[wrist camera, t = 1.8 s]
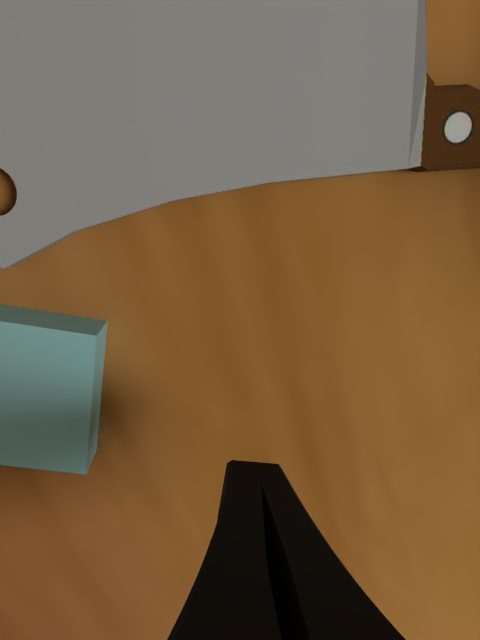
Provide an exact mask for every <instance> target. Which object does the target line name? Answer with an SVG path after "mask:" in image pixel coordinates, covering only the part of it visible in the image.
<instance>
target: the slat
mask: <svg viewBox="0 0 480 640" xmlns="http://www.w3.org/2000/svg"><path fill="white" fill-rule="evenodd" d="M106 332H107V321H104V320H98V319H91V318H85V317H78V316H72V315H65V314H59V313H53V312H46V311H40V310H33V309H27V308H20V307H14V306H7V305H1V304H0V465H4V466H13V467H22V468H31V469H40V470H50V471H59V472H68V473H77V474H87V472H88V469H89V467H90V465H91V462H92V460H93V458H94V455H95V453H96V451H97V440H98V428H99V416H100V404H101V392H102V380H103V368H104V356H105V344H106Z"/></svg>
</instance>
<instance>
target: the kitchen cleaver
mask: <svg viewBox="0 0 480 640" xmlns="http://www.w3.org/2000/svg"><path fill="white" fill-rule="evenodd" d="M0 168H1V169H3V170H4V171H5V172H6V173H8V174H9V175H10V177H11V178H12V180H13V181H14V183H15V186H16V189H17V200H16V203H15V206H14V207H13V208H12V210H11V211H10V212H8V213H7V214H5V215H0V267H1V268H3V269H5V268H8V267H11V266H14V265H17V264H19V263H21V262H22V261H24V260H26V259H28V258H30V257H32V256H34V255H35V254H37V253H39V252H41V251H43V250H45V249H47V248H48V247H50V246H52V245H54V244H56V243H58V242H60V241H62V240H63V239H65V238H67V237H69V236H71V235H73V234H75V233H76V232H78V231H80V230H83V229H86V228H89V227H92V226H96V225H99V224H102V223H105V222H108V221H112V220H115V219H118V218H121V217H124V216H127V215H131V214H134V213H137V212H140V211H143V210H147V209H150V208H153V207H156V206H159V205H162V204H166V203H169V202H172V201H175V200H181V199H186V198H192V197H197V196H202V195H208V194H213V193H218V192H224V191H229V190H235V189H240V188H245V187H251V186H256V185H261V184H267V183H277V182H287V181H296V180H306V179H316V178H326V177H336V176H346V175H356V174H366V173H375V172H385V171H395V170H402V169H408V168H410V169H412V170H414V171H416V172H424V171H438V170H453V169H468V168H480V90H479V89H476V88H474V87H472V86H470V85H468V84H462V85H446V86H434V82H433V80H432V79H431V78H430V77H429V75H428V74H427V52H426V0H0Z"/></svg>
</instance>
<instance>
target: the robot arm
mask: <svg viewBox="0 0 480 640" xmlns="http://www.w3.org/2000/svg"><path fill="white" fill-rule="evenodd" d="M167 640H405V638H404V637H403V636H402V635H401V634H400V633H399V632H398V631H397V630H396V629H395V628H394V626H393V625H392V624H391V623H390V622H389V621H388V620H387V619H386V617H385V616H384V615H383V614H382V613H381V612H380V610H379V609H378V608H377V607H376V606H375V604H374V603H373V602H372V601H371V600H370V598H369V597H368V596H367V595H366V594H365V592H364V591H363V590H362V589H361V587H360V586H359V585H358V584H357V582H356V581H355V580H354V578H353V577H352V576H351V574H350V573H349V572H348V571H347V569H346V568H345V566H344V565H343V564H342V562H341V561H340V560H339V558H338V557H337V556H336V554H335V553H334V551H333V550H332V549H331V547H330V546H329V544H328V543H327V541H326V540H325V538H324V537H323V535H322V534H321V532H320V531H319V529H318V528H317V526H316V525H315V523H314V522H313V520H312V519H311V517H310V516H309V514H308V512H307V511H306V509H305V508H304V506H303V504H302V503H301V501H300V499H299V498H298V496H297V495H296V493H295V491H294V489H293V488H292V486H291V484H290V483H289V481H288V479H287V477H286V475H285V474H284V472H283V470H282V468H281V467H280V466H279V464H271V463H259V462H247V461H236V460H232V461H230V462H229V463H227V466H226V472H225V478H224V484H223V490H222V496H221V501H220V507H219V513H218V521H217V525H216V528H215V531H214V534H213V536H212V539H211V542H210V545H209V547H208V550H207V553H206V555H205V558H204V561H203V563H202V566H201V568H200V571H199V573H198V575H197V578H196V580H195V582H194V585H193V587H192V589H191V591H190V594H189V596H188V598H187V600H186V602H185V605H184V607H183V609H182V611H181V613H180V615H179V617H178V619H177V621H176V623H175V625H174V627H173V629H172V631H171V633H170V635H169V637H168V639H167Z"/></svg>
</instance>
